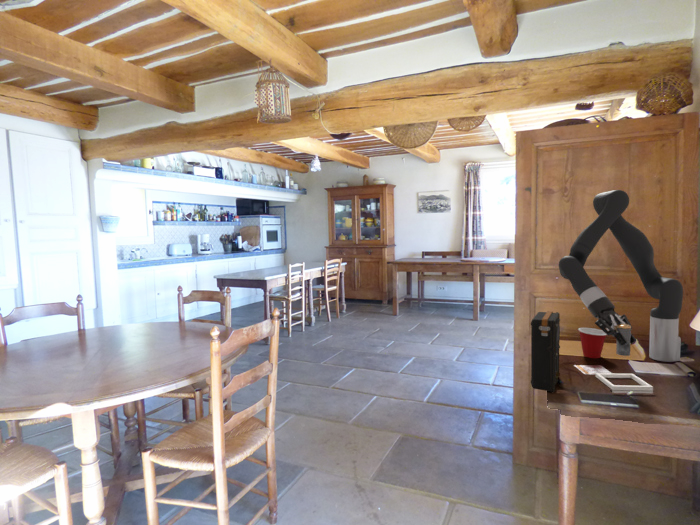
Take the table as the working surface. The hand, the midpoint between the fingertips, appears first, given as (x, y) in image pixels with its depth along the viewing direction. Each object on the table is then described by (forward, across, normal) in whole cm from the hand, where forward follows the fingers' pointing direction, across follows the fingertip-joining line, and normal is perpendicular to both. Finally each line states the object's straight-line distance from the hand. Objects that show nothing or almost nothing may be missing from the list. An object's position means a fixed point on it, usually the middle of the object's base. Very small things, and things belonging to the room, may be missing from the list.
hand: (629, 342), depth 141 cm
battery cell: (+2, 0, +4) cm, 5 cm away
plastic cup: (-8, +18, +30) cm, 36 cm away
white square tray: (+10, 0, +12) cm, 16 cm away
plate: (0, +3, +22) cm, 22 cm away
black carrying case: (+1, -21, +22) cm, 30 cm away
